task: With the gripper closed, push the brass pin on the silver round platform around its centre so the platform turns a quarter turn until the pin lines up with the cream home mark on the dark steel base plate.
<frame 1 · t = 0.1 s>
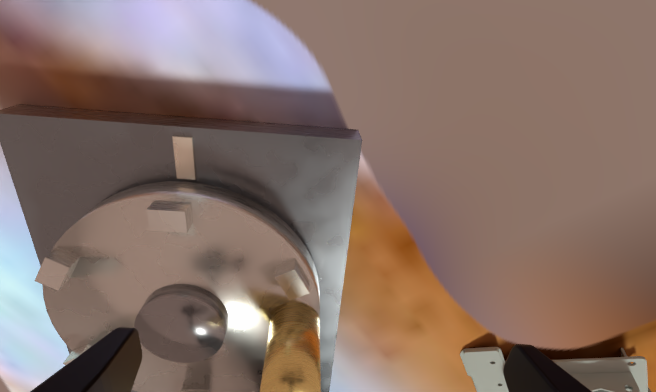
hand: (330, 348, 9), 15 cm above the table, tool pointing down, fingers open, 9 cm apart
silver round platform: (178, 336, 20), point 6 cm above the table, hinge at 0.0°
metal bracket: (545, 376, 33), on the table
base plate: (206, 271, 25), on the table
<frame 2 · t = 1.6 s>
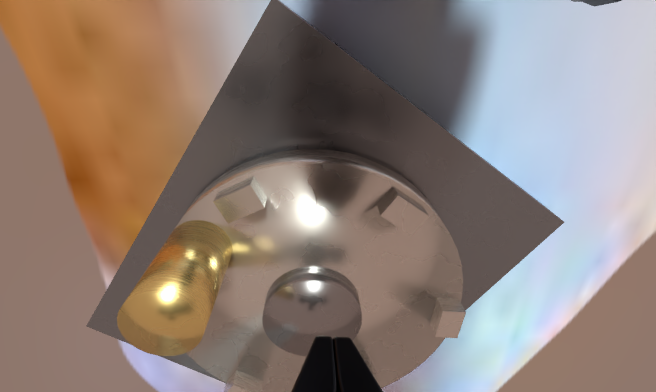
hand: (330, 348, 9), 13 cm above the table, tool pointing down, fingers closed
silver round platform: (312, 326, 18), point 6 cm above the table, hinge at 0.0°
base plate: (313, 256, 23), on the table
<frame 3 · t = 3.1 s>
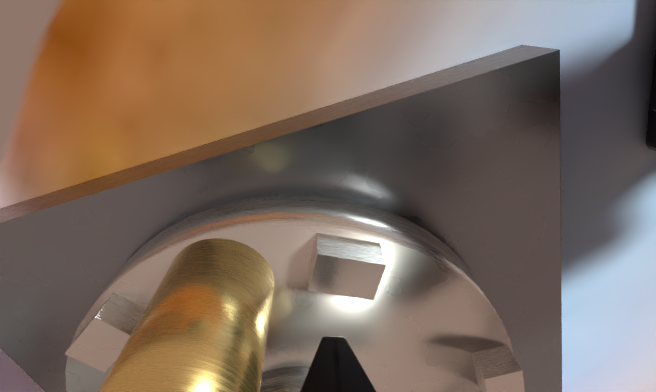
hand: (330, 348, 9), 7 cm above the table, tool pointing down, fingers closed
base plate: (300, 323, 17), on the table
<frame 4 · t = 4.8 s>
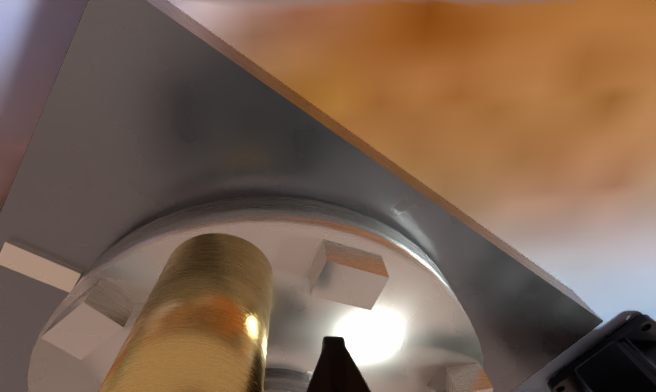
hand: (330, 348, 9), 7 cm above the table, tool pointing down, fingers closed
base plate: (276, 325, 17), on the table
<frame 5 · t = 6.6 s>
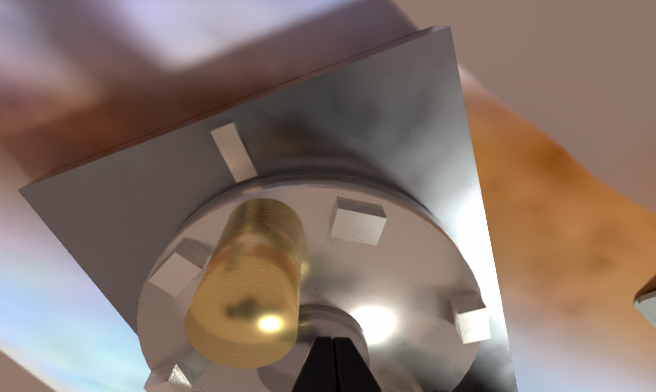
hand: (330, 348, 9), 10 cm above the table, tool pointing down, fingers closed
silver round platform: (313, 373, 16), point 6 cm above the table, hinge at 86.3°
base plate: (313, 284, 21), on the table
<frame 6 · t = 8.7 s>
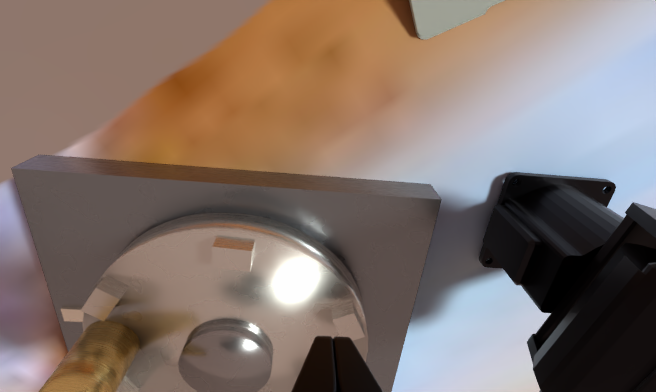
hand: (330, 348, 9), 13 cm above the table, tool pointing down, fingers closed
silver round platform: (223, 373, 19), point 6 cm above the table, hinge at 86.3°
base plate: (243, 298, 25), on the table
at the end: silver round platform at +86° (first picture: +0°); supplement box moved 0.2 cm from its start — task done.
